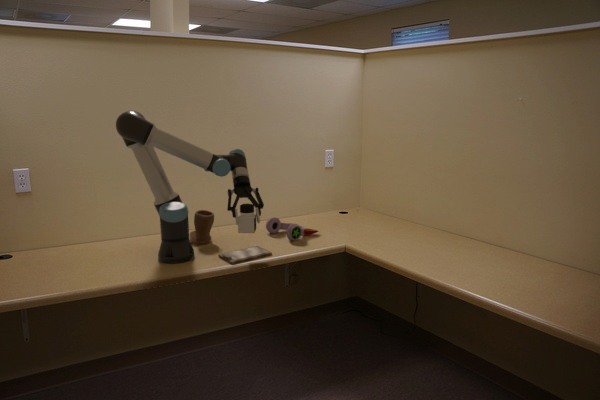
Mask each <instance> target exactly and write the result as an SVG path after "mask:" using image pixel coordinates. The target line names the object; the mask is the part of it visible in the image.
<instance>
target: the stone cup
mask: <svg viewBox="0 0 600 400" xmlns="http://www.w3.org/2000/svg"><path fill="white" fill-rule="evenodd" d="M193 221H194V222H193V225H194V230H193V231H189V240H190V242H191V243H193V244H197V245H198V244H199V245H200V244H208V243H210V242H211V241H212V236H211V230H212V227H213V225H214V222H215V213H213V212H212V211H209V210H206V209H205V210H204V209H199V210H196V211H195V213H194V217H193Z"/></svg>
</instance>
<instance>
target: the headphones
mask: <svg viewBox="0 0 600 400" xmlns="http://www.w3.org/2000/svg"><path fill="white" fill-rule="evenodd" d="M265 228H266V231H267V232H268V233H269V234H272V235H273V234H277V233H278V232H279V231H281V230H284V231H286V237H287V239H288V240H289V241H291V242H295V241H298V240H299V239H300V238H301V237H304V236H305V235H306V236H307V235H313V234H316V233H318V232H319V230H316V229H312V228H307V227H304V226H301V225H299V224H298V223H290V222H289V223H288V222H287V223H286V222H281V220H280V219H279V218H277V217H274V216H273V217H269V219H268V220H267V221H266V224H265Z"/></svg>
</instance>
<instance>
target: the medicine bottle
mask: <svg viewBox="0 0 600 400" xmlns="http://www.w3.org/2000/svg"><path fill="white" fill-rule="evenodd" d="M238 220H239V224H238V225H237V232H238V234H256V232H257V231H256V230H257V217H256V212H255V206H254V205H253V204H252V203H242V204H240V205H239V214H238Z"/></svg>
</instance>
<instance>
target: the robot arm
mask: <svg viewBox="0 0 600 400" xmlns="http://www.w3.org/2000/svg"><path fill="white" fill-rule="evenodd" d="M115 129H116V132H117V134H118V135H119V136H120V137H122V140H123V142H124V144H125V146H126V148H129V149H131V151H132V152H133V155H134V157H135V158H136V161H137V163H138V166H139V167H140V170H141V172H142V174H143V175H144V178H145V180H146V182H147V184H148V186H149V189H150V191H151V193H152V195H153V197H154V201H153V205H154V208H155V210H156V212H157V213H158V214H157V215H158V216H159V223H160V224H159V225H160V226H159V227H160V238H161V240H160V246H159V249H158V253H157V259H158V261H159V262H161V263H165V264H181V263H185V262H188V261H191V260H193V259H194V258H195V250H194V248H193V245H192V242H191V240H190V229H189V227H190V226H189V225H190V224H189V223H190V222H189V208H188V206H187V204H185V203H184V202H183V201H182V198H181V197H180V195H179V193H178V192H176V191H174V189H173V187H172V185H171V181H170V180H169V178H168V176H167V174H166V171H165V170H164V167H163V165H162V163H161V160H160V158H159V156H158V154H157V152H156V150H155V149H157V150H159V151H162V152H165V153H167V154H169V155H172V156H173V157H176V158H179V159H180V160H183V161H185V162H188V163H189V164H192V165H195V166H196V167H199V168H202V169H203V170H204V171H205V172H210V173H212V174H214V175H216V176H217V177H221V178H223V177H226V176H227V175H228V174H230V173H231V177H232V184H233V189H230V188H228V189H227V196H228V199H227V211H228V212H231V213H232V214H231V215H232V218H235V224H236V226H238V224H239V220H238V217H239V214H238V209H237V206H238V203H239V200H240V199H242V198H245V199H248V200H249V201H250V203H251V204H253V205H254V212H255V214H256V223H257V224H260V222H261V218H260V217H261V216H262V210H263V209H264V206H265V204H264V201H263V200H262V197H261V194H260V192H259V188H258V187H256V188H253V187H252V185H251V181H250V174H249V169H248V164H247V158H246V153H245V152H244V151H243V149H240V148H234V149H232V150H230V151H229V153H228V154H214V153H212V152H210V151H208V150H205V149H203V148H201V147H199V146H197V145H195V144H193V143H191V142H188V141H186V140H184V139H182V138H180V137H178V136H175V135H173V134H171V133H169V132H167V131H165V130H162V129H160V128H157V126H156V124H155V123H153V122H151V121H148V120H147V119H146V118H145V117H144V115H143V114H142V113H141V112H139V111H136V110H127V111H124V112H122V113H121V114H119V115H118V117H117V119H116V121H115ZM252 193H253V194H254V195H255V197H254V196H253V194H252ZM234 194H235V195H236V196H235V199H234V202H233V205H232V195H234ZM255 198H256V199H255ZM231 205H232V206H231ZM261 209H262V210H261Z"/></svg>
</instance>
